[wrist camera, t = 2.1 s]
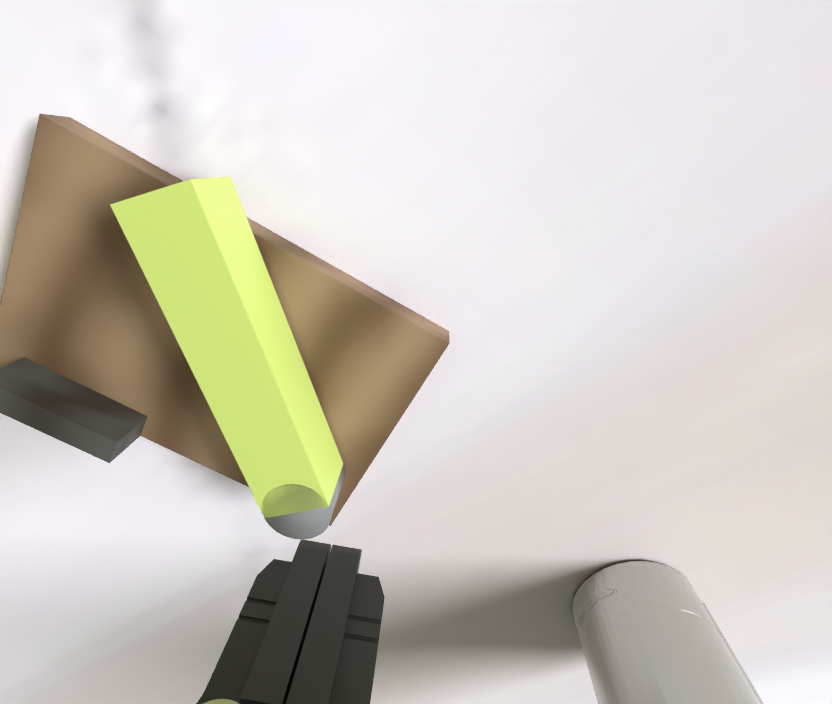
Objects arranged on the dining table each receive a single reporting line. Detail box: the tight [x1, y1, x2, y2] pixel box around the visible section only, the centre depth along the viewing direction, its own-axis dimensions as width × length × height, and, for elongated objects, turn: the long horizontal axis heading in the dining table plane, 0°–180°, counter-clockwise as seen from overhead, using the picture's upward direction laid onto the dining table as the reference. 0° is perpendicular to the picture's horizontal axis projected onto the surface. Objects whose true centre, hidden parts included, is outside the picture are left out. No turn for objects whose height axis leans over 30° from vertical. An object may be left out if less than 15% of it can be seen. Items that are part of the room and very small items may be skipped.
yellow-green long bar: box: [110, 177, 345, 539], centre depth 25 cm, size 20×4×4 cm, turn 15°
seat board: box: [0, 114, 449, 526], centre depth 27 cm, size 24×16×5 cm, turn 60°
